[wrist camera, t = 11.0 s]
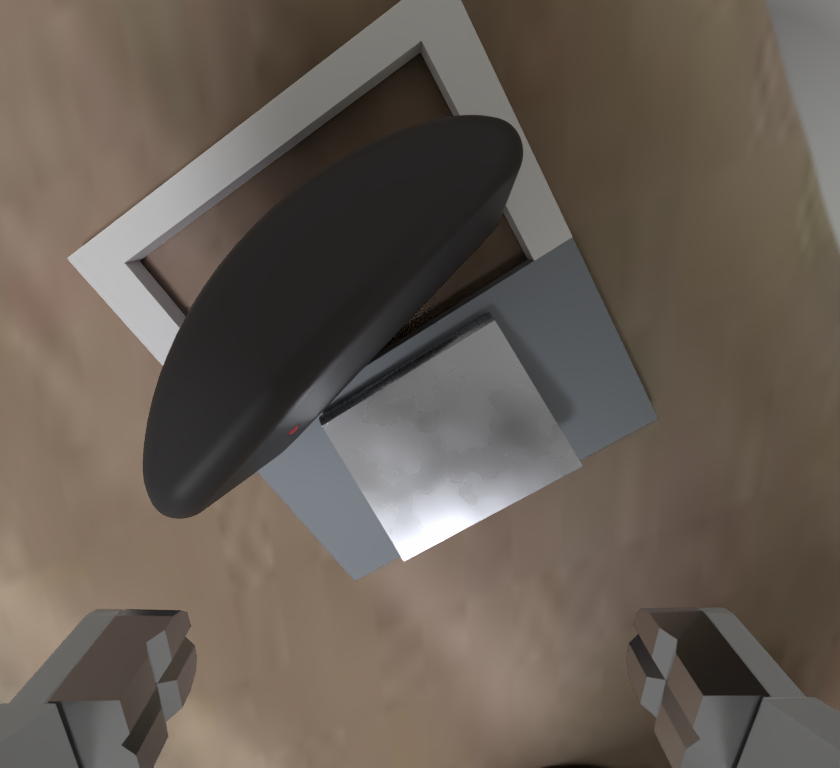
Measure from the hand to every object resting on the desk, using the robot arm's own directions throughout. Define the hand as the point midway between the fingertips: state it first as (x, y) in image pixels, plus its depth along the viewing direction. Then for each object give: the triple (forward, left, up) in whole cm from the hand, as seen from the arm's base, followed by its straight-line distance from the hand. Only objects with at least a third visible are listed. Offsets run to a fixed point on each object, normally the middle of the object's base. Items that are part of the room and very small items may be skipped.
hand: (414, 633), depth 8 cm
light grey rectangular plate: (-4, 0, -14) cm, 14 cm away
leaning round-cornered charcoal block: (+3, 0, -15) cm, 16 cm away
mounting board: (+2, 0, -16) cm, 16 cm away
